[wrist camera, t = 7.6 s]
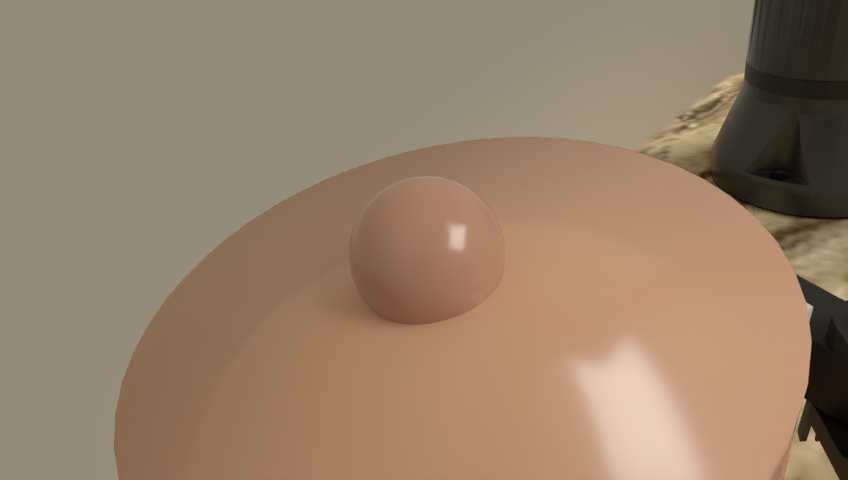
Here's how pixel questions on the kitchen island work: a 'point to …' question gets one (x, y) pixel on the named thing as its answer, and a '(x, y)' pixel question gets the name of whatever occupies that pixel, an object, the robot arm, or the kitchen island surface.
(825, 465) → the kitchen island surface
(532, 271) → the lidded canister
